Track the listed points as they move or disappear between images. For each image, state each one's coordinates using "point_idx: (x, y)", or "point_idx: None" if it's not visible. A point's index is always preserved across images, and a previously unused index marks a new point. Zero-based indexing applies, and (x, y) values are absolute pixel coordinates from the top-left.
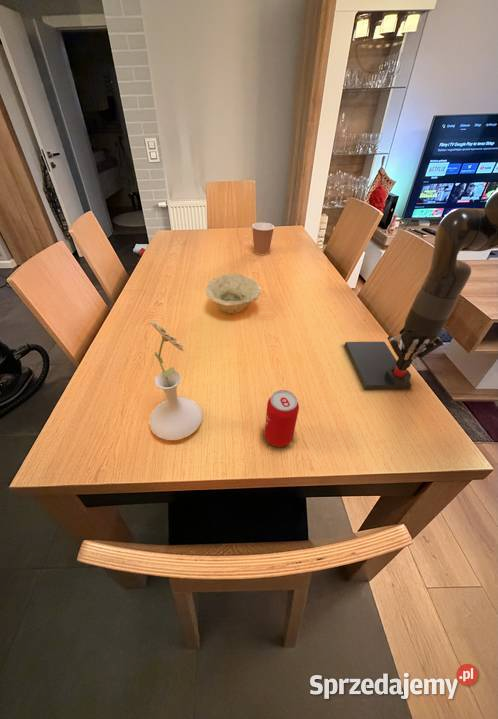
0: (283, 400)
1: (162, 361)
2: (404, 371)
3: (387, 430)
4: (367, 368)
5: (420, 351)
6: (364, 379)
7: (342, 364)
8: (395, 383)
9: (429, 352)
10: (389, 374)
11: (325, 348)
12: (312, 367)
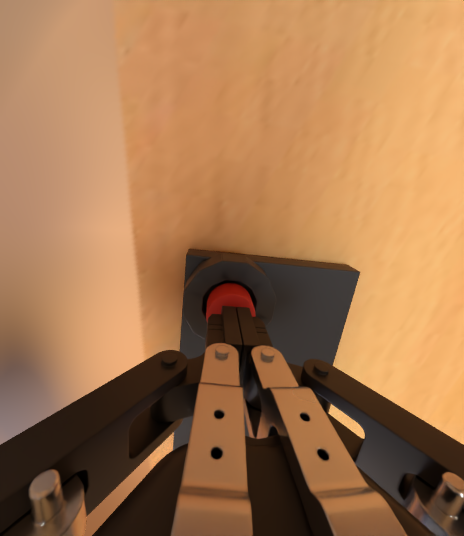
0: None
1: None
2: (224, 302)
3: (386, 68)
4: (307, 346)
5: (211, 396)
6: (349, 299)
7: (348, 372)
8: (256, 264)
9: (108, 384)
10: (274, 302)
11: (358, 432)
12: (441, 367)
